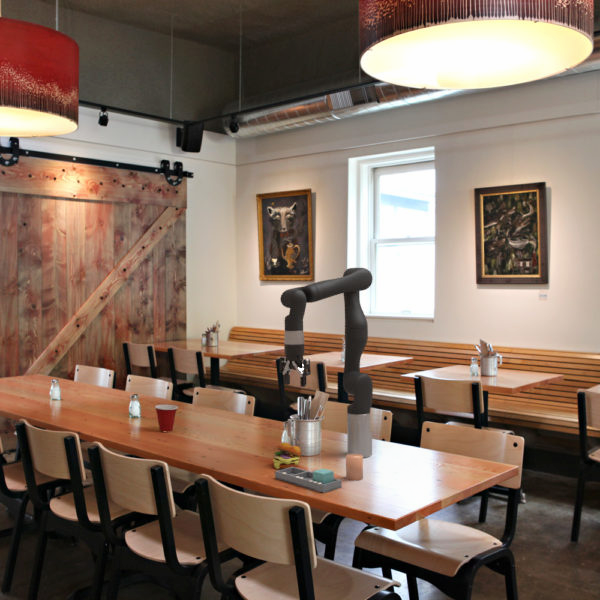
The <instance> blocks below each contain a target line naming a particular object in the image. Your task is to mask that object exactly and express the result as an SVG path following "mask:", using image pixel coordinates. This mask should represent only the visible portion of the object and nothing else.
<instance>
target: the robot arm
mask: <svg viewBox="0 0 600 600" xmlns="http://www.w3.org/2000/svg"><path fill="white" fill-rule="evenodd" d="M372 284H373V274H372V273H371V271H370V270H369V269H367V268H365V267H349V268H346V270H345V271H343V275H342V277H337V278H332V279H325V280H320V281H317V282H313V283H309V284H307V285H302V286H298V287H292V288H289V289H286V290H284V291H283V292H282V294H281V295H280V303H281V305H282V306H283V307H285V308H286V309H287V308H288V309H289V313H288V315H286V316H285V317H284V335H283V336H284V337H283V341H284V342H283V344H284V345H283V346H284V348H283V349H284V353H283V354H284V355H285V356H281V357H279V373H281V374H282V375H283V383H284V386H285V385H286V386H287V385H290V384H291V376H290V374H291V371H293V370H294V371H296V372H297V373H298V374H299V376H300V377H299V378H300V381H299V383H300V387H302V388H303V387H306V386H307V377H308V376H311V374H312V373H311V360H310V358H305V359H304V355H305V334H304V317H305V313H306V307H307V304H309V303H311V304H312V303H317V302H319V301H322V300H326V299H328V298H332V297H334V296H337V295H341V294H343V301H344V367H343V380H342V385H343V389H344V391H345V392H346V393H347V394H348V395H352V396H353V401H352V403H350V404H348V405H347V407H346V414H347V415H346V416H347V417H346V421H347V422H346V423H347V425H346V427H347V430H346V431H347V433H346V434H347V435H346V437H347V439H346V442H347V444H346V445H347V446H346V447H347V454H361V455H363V459H364V458H368V457H370V456H371V455H373V438H372V437H373V432H372V430H371V408H372V405H373V394H374V393H373V392H374V385H373V383H374V382H373V379H372V378H371V376H370V375H369V374H367V373H363V372H361V368H360V367H361V357H362V355H363V352H364V350H365V349H366V346H367V343H368V339H369V338H368V337H369V329H368V328H369V326H368V320H367V317H366V315H365V312H364V310H363V308H362V306H361V300H360V292H361V291H366V290H368V289H369V288H370V287H371V285H372ZM347 454H346V455H347Z"/></svg>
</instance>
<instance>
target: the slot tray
mask: <svg viewBox="0 0 600 600" xmlns="http://www.w3.org/2000/svg"><path fill="white" fill-rule="evenodd" d="M274 475H275V476H274V478H275V480H279V481H283V482H286V483H288V484H292V485H296V486H298V487H299V486H300V487H303V488H305V489H309V490H312V491H315V492H319V493H321V492H323V493H322V494H325V492H326V493H329V492H332V491H335V489H336V490H339V489H341V488H342V484H343V481H342V479H338V478H335V477H334V482H330V483H327V484H322V483H318V482H317V481H313V471H310V470H306V469H303V468H300V467H290V468H281V469H280V470H279V469H277V470H275V472H274ZM338 488H339V489H338Z"/></svg>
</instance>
